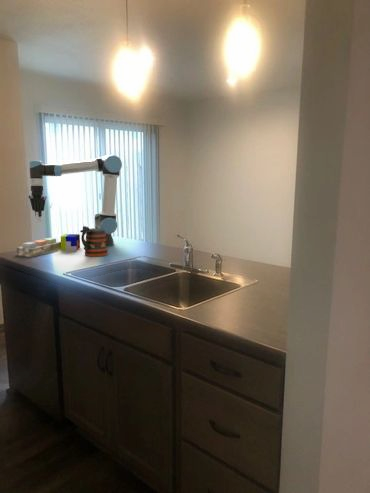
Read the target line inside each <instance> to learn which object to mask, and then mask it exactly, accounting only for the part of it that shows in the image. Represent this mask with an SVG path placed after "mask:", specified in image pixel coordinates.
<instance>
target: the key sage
mask: <svg viewBox="0 0 370 493" xmlns="http://www.w3.org/2000/svg"><path fill="white" fill-rule="evenodd" d="M42 240H46V241H47V243H48V244H51V243H55V242H56V241H57V238H55V237H47V238H43V239H42Z"/></svg>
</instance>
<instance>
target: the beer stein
mask: <svg viewBox="0 0 370 493" xmlns="http://www.w3.org/2000/svg"><path fill="white" fill-rule="evenodd" d="M80 233H81V235H80V241H81V243H82V245H83V249H84V255H85V256H87V257H91V258H94V257H97V258H99V257H106V256H108V250H109V249H108V246H106V234H105V230H103V228H101V229H100V228H95V227H93V228H92V227H91V228H90V227H88V226H86V225H83V226H82V230H81V229H80Z"/></svg>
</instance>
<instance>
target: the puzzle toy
mask: <svg viewBox="0 0 370 493" xmlns="http://www.w3.org/2000/svg"><path fill="white" fill-rule="evenodd" d="M60 242H61V250H60V252H62V251H63V252H77V251H78V250H80V249H81V234H78V233H77V234H76V233H65V234H62V235H61V236H60ZM79 248H80V249H79Z"/></svg>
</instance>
